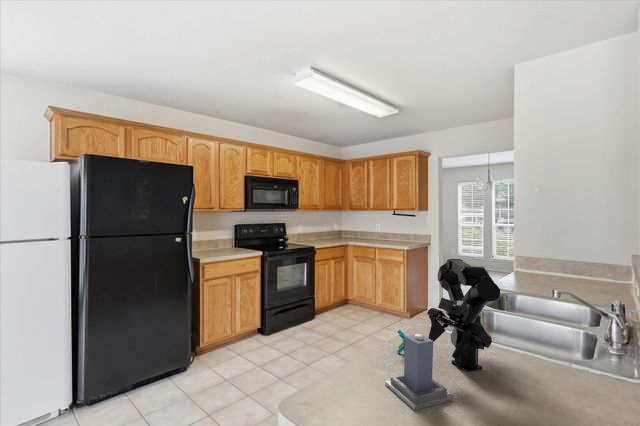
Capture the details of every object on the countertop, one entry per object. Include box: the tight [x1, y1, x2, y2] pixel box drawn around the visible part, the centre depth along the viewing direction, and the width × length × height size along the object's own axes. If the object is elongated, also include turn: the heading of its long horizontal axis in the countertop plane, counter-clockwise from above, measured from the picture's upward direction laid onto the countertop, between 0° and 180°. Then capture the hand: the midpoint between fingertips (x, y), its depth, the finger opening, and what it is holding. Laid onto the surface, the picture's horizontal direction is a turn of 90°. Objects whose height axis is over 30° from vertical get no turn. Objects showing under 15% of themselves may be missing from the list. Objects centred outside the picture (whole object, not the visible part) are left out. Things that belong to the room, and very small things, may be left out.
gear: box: [396, 329, 406, 354], centre depth 106 cm, size 11×6×10 cm
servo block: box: [403, 333, 434, 394], centre depth 83 cm, size 5×5×14 cm
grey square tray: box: [384, 373, 454, 411], centre depth 83 cm, size 12×12×2 cm
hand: (440, 350), depth 87 cm, fingers open, 9 cm apart
